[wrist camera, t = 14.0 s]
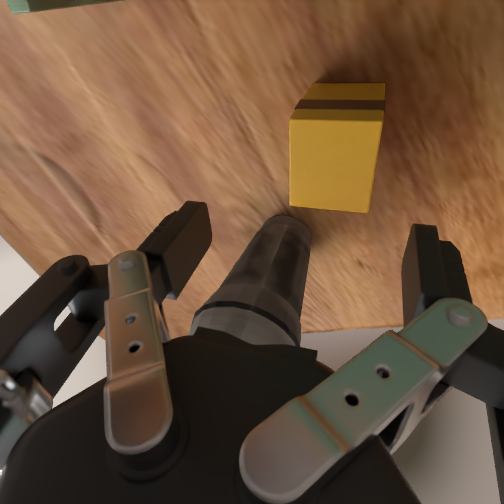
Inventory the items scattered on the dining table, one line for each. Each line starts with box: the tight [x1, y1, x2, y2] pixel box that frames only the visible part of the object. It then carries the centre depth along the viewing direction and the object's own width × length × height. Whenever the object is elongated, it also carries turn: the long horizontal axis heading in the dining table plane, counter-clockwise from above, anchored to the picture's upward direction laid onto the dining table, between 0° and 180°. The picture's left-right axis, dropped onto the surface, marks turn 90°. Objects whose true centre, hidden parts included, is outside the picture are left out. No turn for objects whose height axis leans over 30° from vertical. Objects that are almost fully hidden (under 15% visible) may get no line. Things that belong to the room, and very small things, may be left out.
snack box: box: [289, 83, 386, 213], centre depth 20 cm, size 5×4×7 cm
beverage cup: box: [189, 215, 311, 347], centre depth 23 cm, size 7×7×20 cm
